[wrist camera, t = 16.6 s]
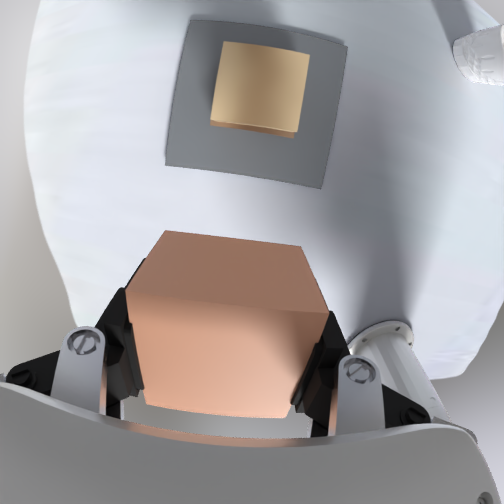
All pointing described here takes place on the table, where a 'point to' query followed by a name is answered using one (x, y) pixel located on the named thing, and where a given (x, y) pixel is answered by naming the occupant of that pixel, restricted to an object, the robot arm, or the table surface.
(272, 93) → the oak block
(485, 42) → the white cup
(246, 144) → the slate board
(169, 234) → the terracotta block
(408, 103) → the table surface
